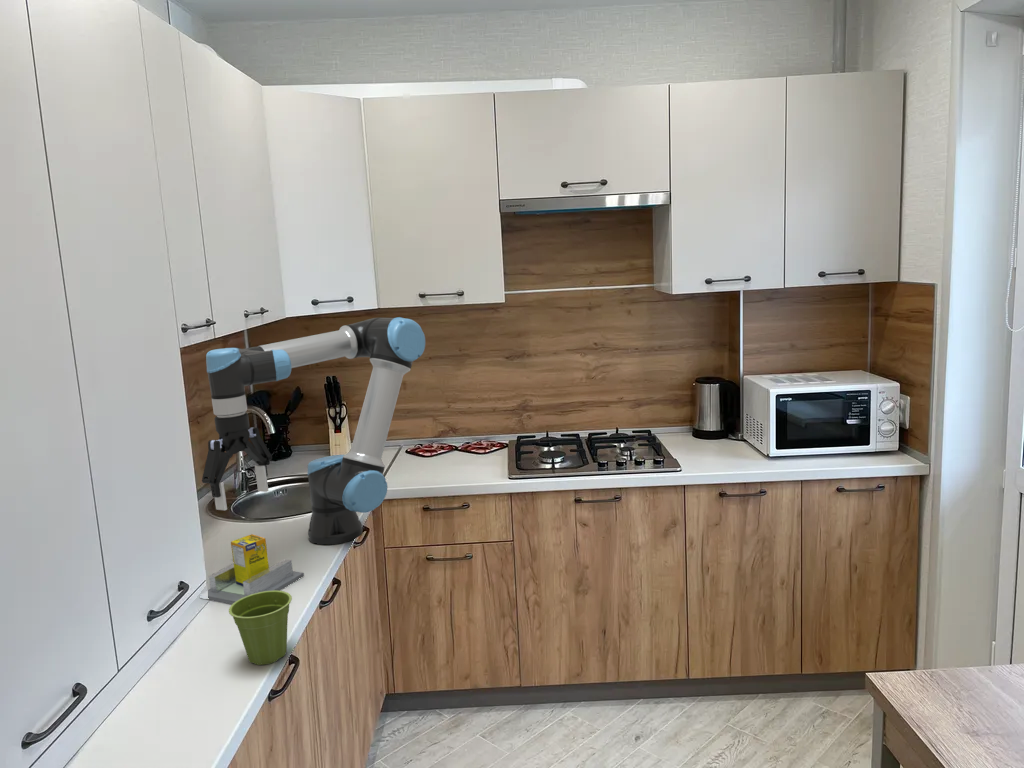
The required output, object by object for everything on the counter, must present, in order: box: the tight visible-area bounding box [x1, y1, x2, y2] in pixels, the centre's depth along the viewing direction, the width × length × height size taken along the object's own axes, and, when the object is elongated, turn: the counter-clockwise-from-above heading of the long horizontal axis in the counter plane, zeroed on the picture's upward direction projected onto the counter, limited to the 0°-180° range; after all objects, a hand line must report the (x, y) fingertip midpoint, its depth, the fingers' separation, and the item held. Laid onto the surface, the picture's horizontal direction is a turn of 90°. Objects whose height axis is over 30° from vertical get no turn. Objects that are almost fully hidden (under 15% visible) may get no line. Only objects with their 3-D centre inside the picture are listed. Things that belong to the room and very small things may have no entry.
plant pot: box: [228, 590, 293, 666], centre depth 146 cm, size 12×12×11 cm
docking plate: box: [207, 558, 305, 606], centre depth 180 cm, size 18×16×5 cm
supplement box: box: [230, 533, 270, 586], centre depth 180 cm, size 6×6×11 cm
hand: (243, 500), depth 179 cm, fingers open, 13 cm apart
